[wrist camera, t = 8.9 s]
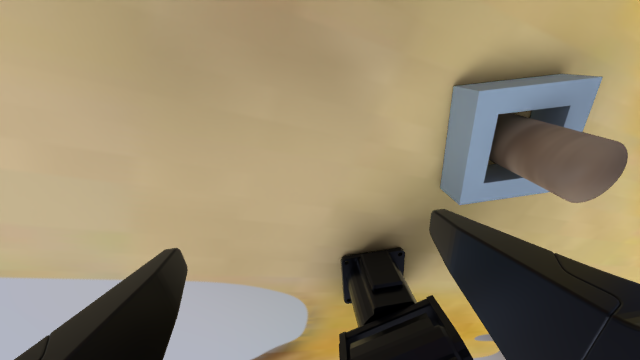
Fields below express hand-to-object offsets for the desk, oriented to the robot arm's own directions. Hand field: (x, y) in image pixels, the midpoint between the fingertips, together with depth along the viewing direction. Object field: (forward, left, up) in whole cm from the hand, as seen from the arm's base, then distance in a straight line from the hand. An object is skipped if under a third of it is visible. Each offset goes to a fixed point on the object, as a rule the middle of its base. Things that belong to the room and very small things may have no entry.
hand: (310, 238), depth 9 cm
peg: (-2, -17, -12) cm, 21 cm away
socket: (-2, -17, -12) cm, 21 cm away
